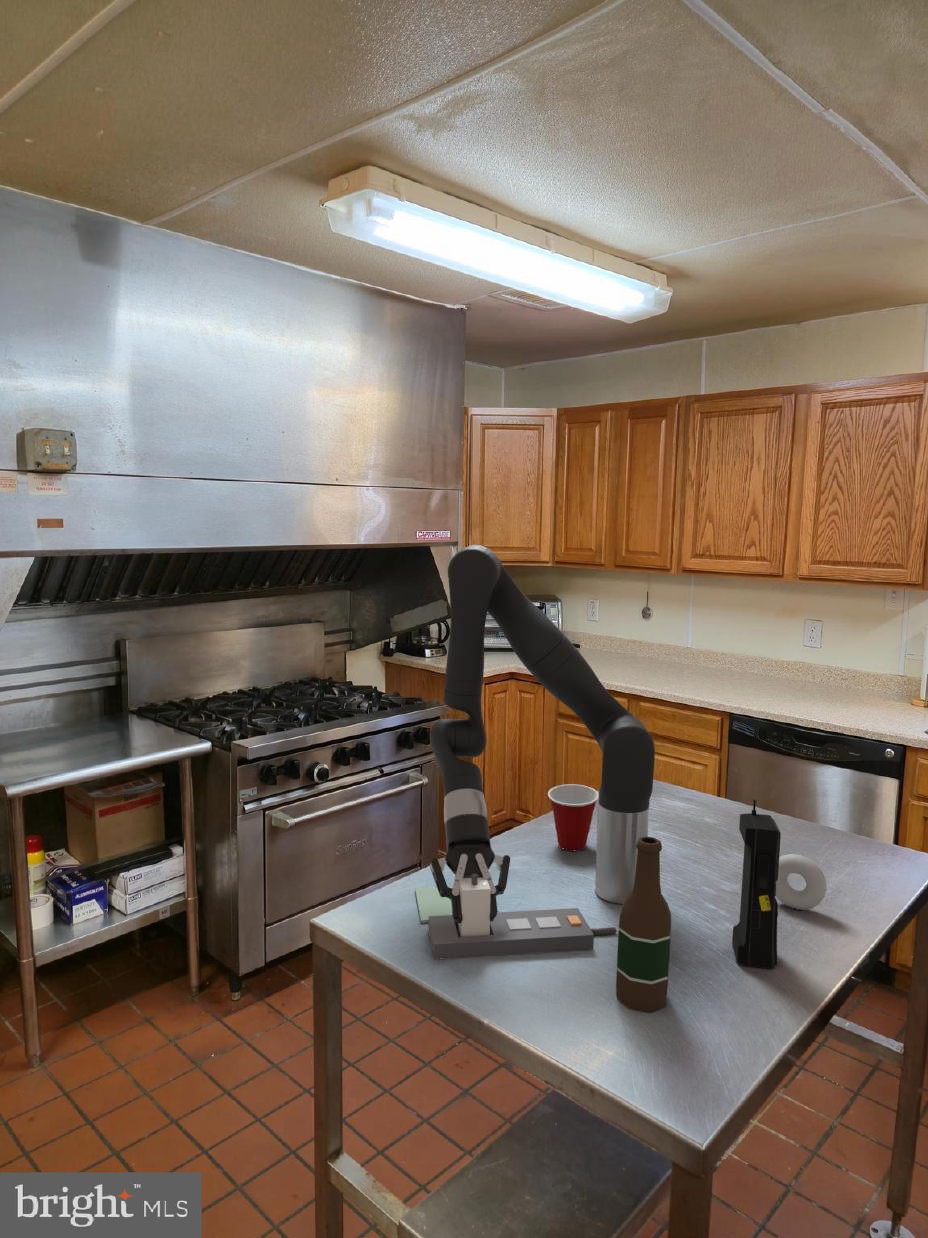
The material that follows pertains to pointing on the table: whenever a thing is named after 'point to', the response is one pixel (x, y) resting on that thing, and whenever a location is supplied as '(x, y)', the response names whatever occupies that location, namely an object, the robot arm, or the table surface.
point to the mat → (432, 903)
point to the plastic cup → (573, 814)
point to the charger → (474, 907)
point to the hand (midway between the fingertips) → (475, 920)
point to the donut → (812, 876)
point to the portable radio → (758, 892)
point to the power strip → (516, 934)
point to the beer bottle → (644, 935)
